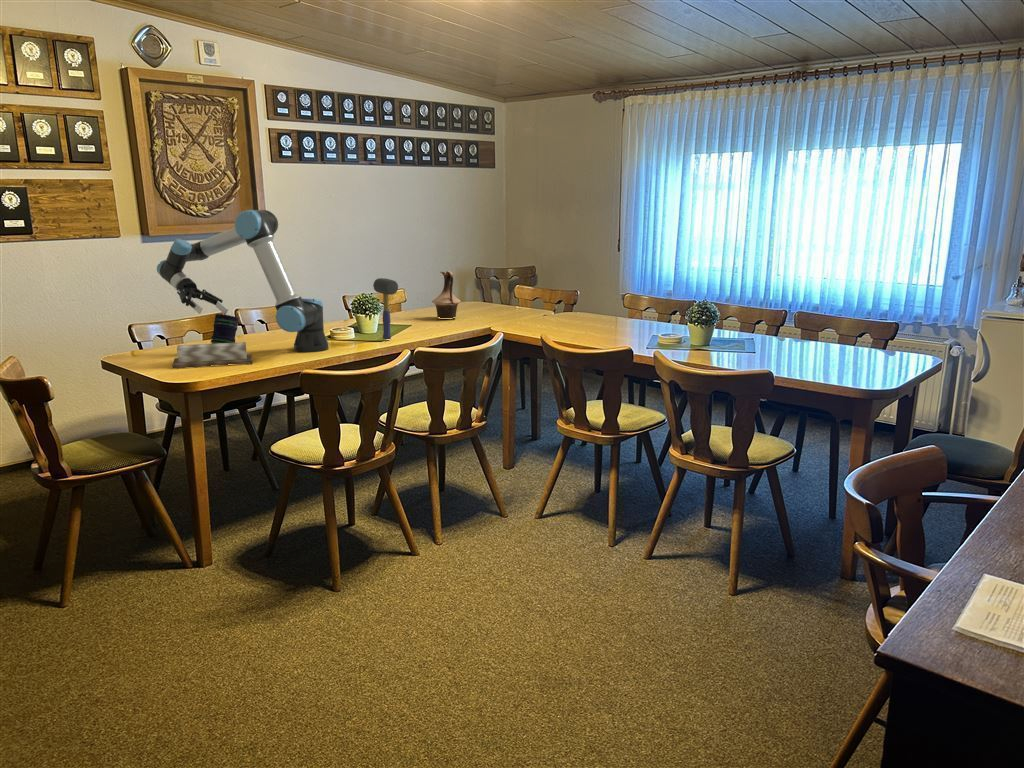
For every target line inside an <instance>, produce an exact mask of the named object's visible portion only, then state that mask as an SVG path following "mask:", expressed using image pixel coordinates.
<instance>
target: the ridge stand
mask: <svg viewBox="0 0 1024 768" xmlns="http://www.w3.org/2000/svg"><path fill="white" fill-rule="evenodd" d="M176 353H177V357H175V358H174V359H173V362H172V364H171V365H172V366H171V368H177V369H186V368H185V367H194V368H200V367H199V366H211V365H228V364H246V365H250V364H249V363H253V356H252V354H251V353H250V354H249V353H247V342H245V341H243V342H242V341H240V342H239V341H238V342H235V343H216V344H211V343H200V344H178V345H176ZM228 366H229V365H228ZM211 367H212V366H211Z"/></svg>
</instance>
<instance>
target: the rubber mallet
mask: <svg viewBox="0 0 1024 768" xmlns="http://www.w3.org/2000/svg"><path fill="white" fill-rule="evenodd" d="M372 287H373V290H374V291H375V292H376V293H380V294H382V296H383V297H382V298H383V299H382V303H383V304H382V305H383V306H382V308H383V310H382V326H383V327H382V328H383V329H382V331H383V333H382V338H383V340H384V339H390V340H391V339H392V334H391V322H392V321H391V313H390V307H389V305H390V303H389V302H390V301H389V295H391V296H392V295H395V294H396V293H397V292H398V291H399V284H398V283H397V281H396V280H393V279H390V278H385V277H384V278H382V277H381V278H377V279H375V280H374V281H373V285H372Z"/></svg>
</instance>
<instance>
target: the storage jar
mask: <svg viewBox="0 0 1024 768" xmlns="http://www.w3.org/2000/svg"><path fill="white" fill-rule="evenodd" d="M212 327H213V330H212V331H213V332H212V336H210V337H211V339H210V344H216V343H236V334H237V330H238V327H239V317H237V316H234V315H229V314H224V313H215V315H214V320H213V326H212Z"/></svg>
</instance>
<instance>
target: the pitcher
mask: <svg viewBox="0 0 1024 768" xmlns="http://www.w3.org/2000/svg"><path fill="white" fill-rule="evenodd" d="M440 273H441V274H442V275H443V279H444V282H443V289H442V291H441V292H440V294H439V295H438V296H437V297H436V298H434V299H432V301H431V303H434V305H435V309H436V316H437V317H440V318H453V317H456V318H457V310H458V306H459V303H461V302H462V301H461V300H460V299H459V298H457V296H456V295H455V294H454V293H453V285H454V275H455V274H454V273H453V272H452V271H450V270H446V271H440ZM437 317H436V318H437Z"/></svg>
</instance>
